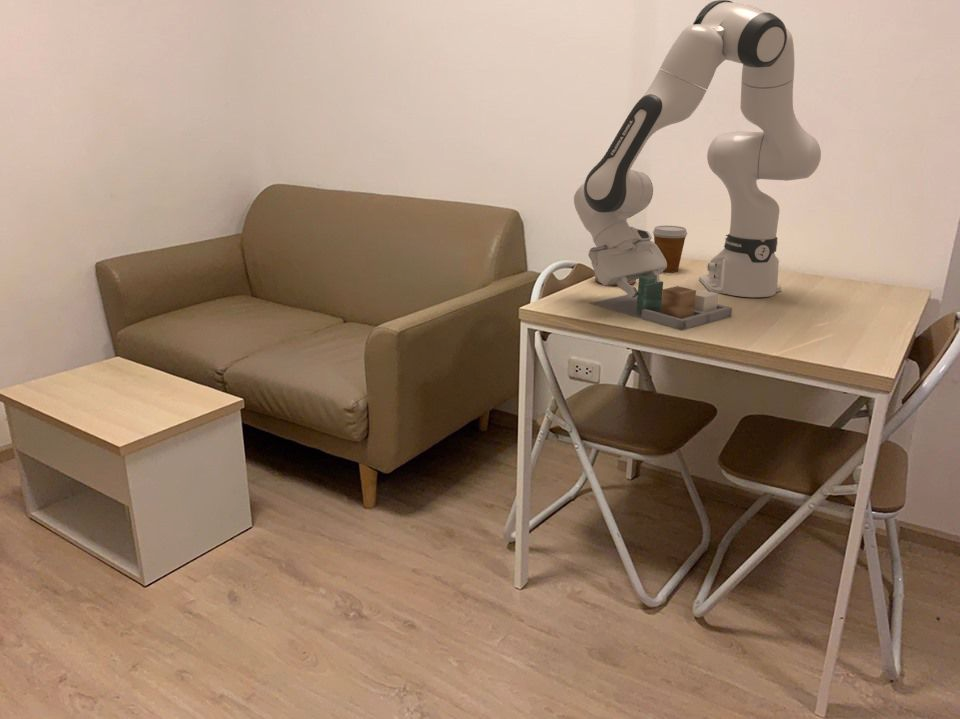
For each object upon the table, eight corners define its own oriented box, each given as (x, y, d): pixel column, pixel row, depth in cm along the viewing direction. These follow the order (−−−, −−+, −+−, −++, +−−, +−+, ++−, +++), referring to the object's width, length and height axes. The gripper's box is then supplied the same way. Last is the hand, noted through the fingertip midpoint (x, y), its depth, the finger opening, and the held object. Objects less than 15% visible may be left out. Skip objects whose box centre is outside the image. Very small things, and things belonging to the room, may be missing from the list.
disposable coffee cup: (687, 274, 214) (692, 231, 210) (653, 273, 214) (657, 230, 210) (678, 266, 223) (682, 225, 219) (646, 266, 223) (649, 225, 219)
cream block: (683, 314, 173) (686, 292, 172) (697, 310, 176) (699, 289, 175) (702, 319, 170) (704, 297, 168) (716, 315, 172) (718, 293, 171)
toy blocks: (631, 312, 174) (634, 278, 171) (648, 308, 177) (650, 274, 175) (677, 325, 165) (681, 289, 162) (693, 321, 168) (697, 285, 165)
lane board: (588, 305, 182) (589, 295, 181) (638, 294, 192) (639, 284, 191) (681, 332, 162) (682, 321, 161) (731, 318, 172) (732, 307, 171)
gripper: (593, 240, 169) (623, 292, 165) (653, 231, 181) (683, 279, 177) (577, 257, 173) (607, 308, 169) (637, 246, 185) (666, 294, 181)
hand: (646, 293), depth 173 cm, fingers open, 7 cm apart
